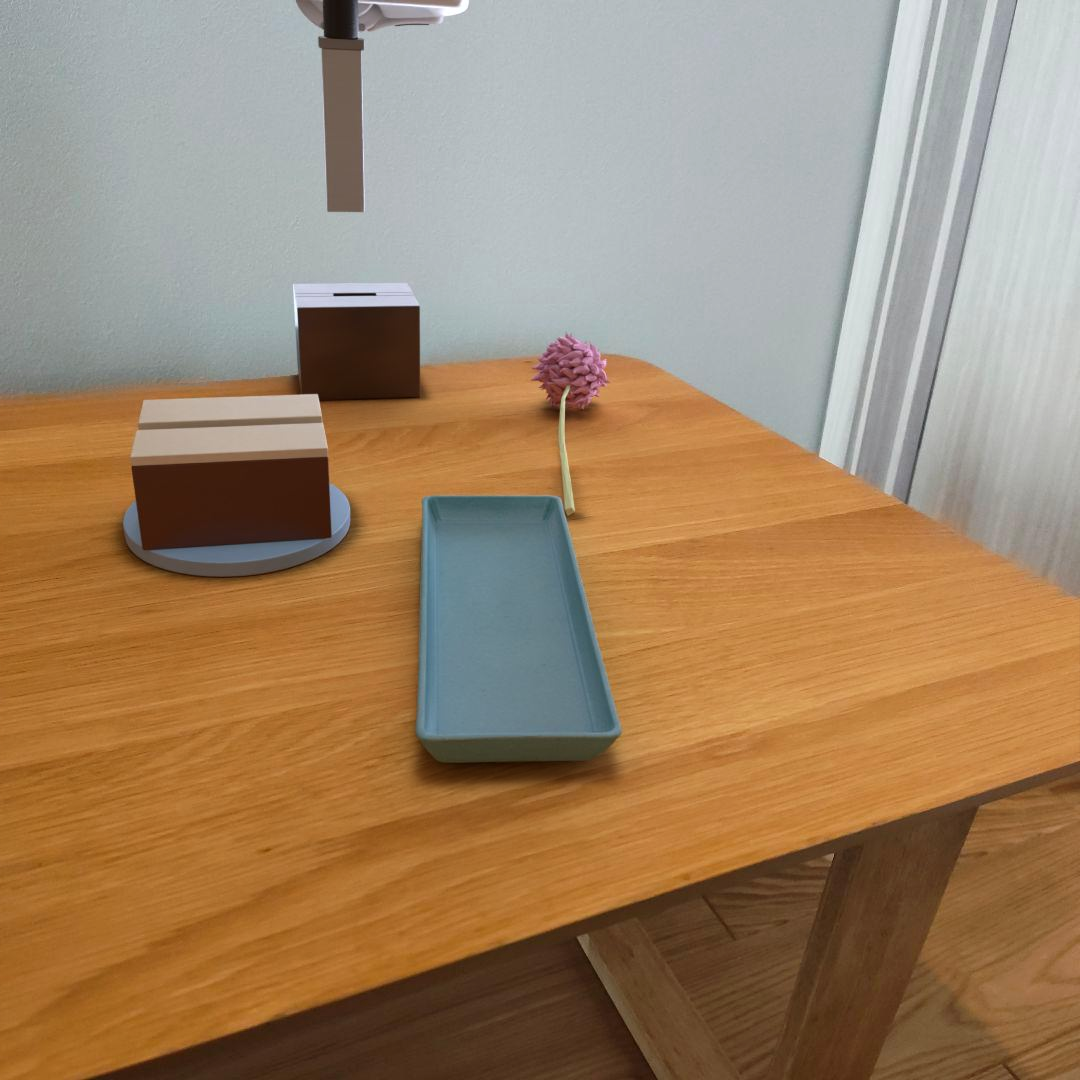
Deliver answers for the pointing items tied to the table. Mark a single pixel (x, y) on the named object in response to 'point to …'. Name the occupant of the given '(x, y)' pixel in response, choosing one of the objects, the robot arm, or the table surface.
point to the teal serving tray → (507, 636)
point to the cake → (232, 485)
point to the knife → (342, 106)
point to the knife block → (357, 340)
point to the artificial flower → (570, 388)
